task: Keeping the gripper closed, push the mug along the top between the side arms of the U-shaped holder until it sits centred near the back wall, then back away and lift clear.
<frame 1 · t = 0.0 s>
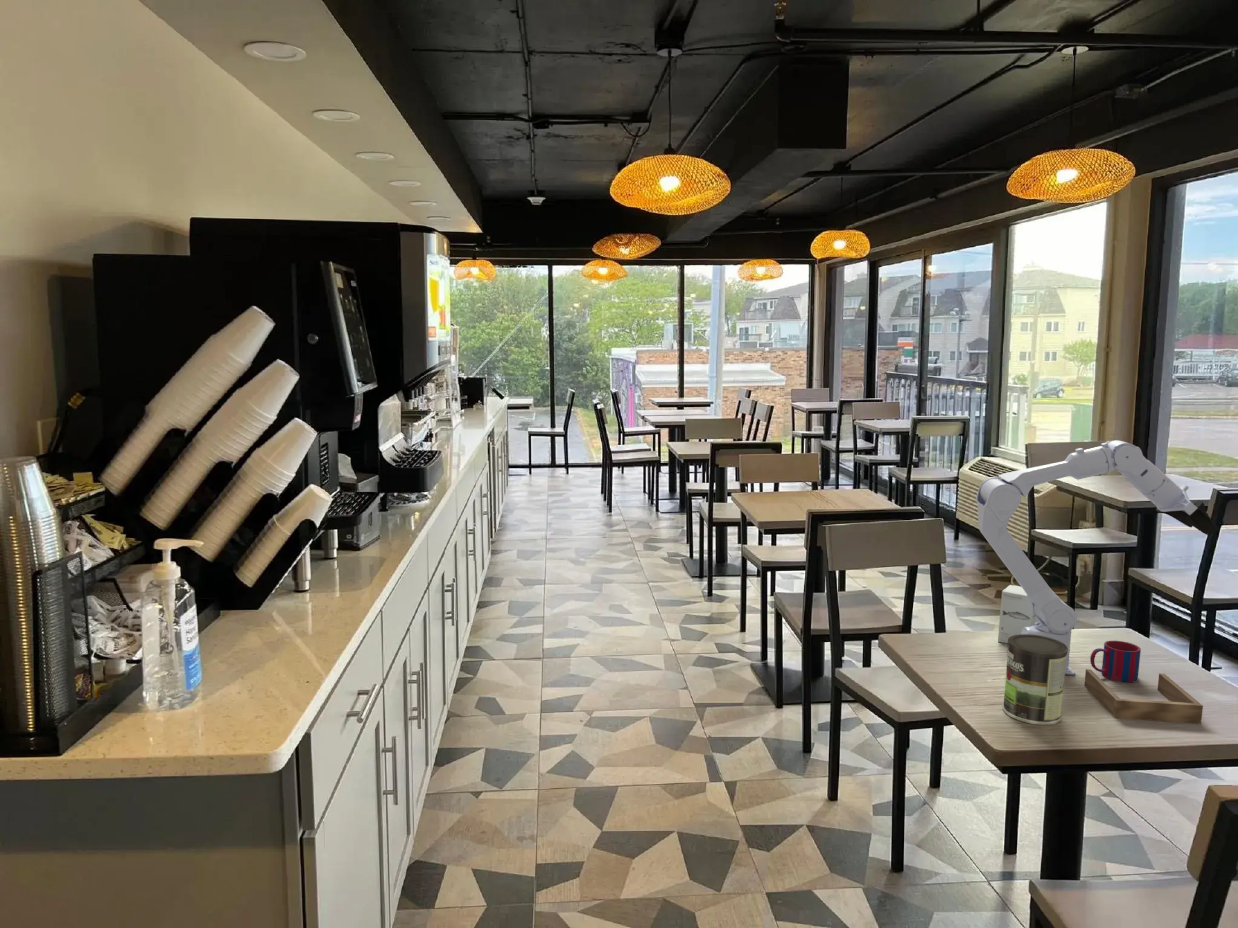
hand: (1203, 527, 179), 32 cm above the table, tool tilted 50°, fingers open, 7 cm apart
mug: (1111, 677, 183), on the table
coffee can: (1031, 714, 165), on the table
supplement box: (1017, 642, 204), on the table
holder: (1142, 705, 169), on the table
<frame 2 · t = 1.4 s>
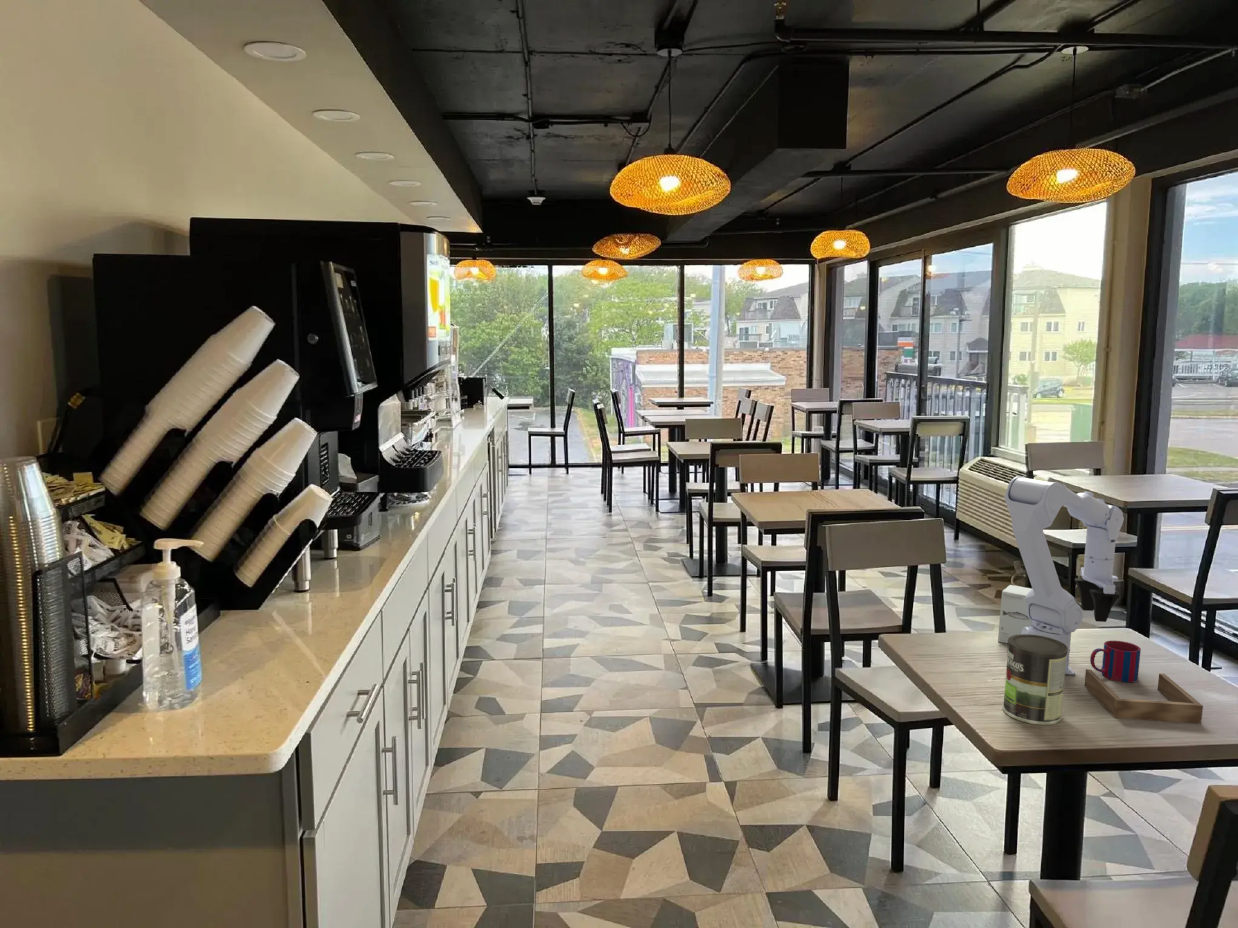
hand: (1094, 615, 194), 9 cm above the table, tool pointing down, fingers open, 7 cm apart
nothing on the table moved.
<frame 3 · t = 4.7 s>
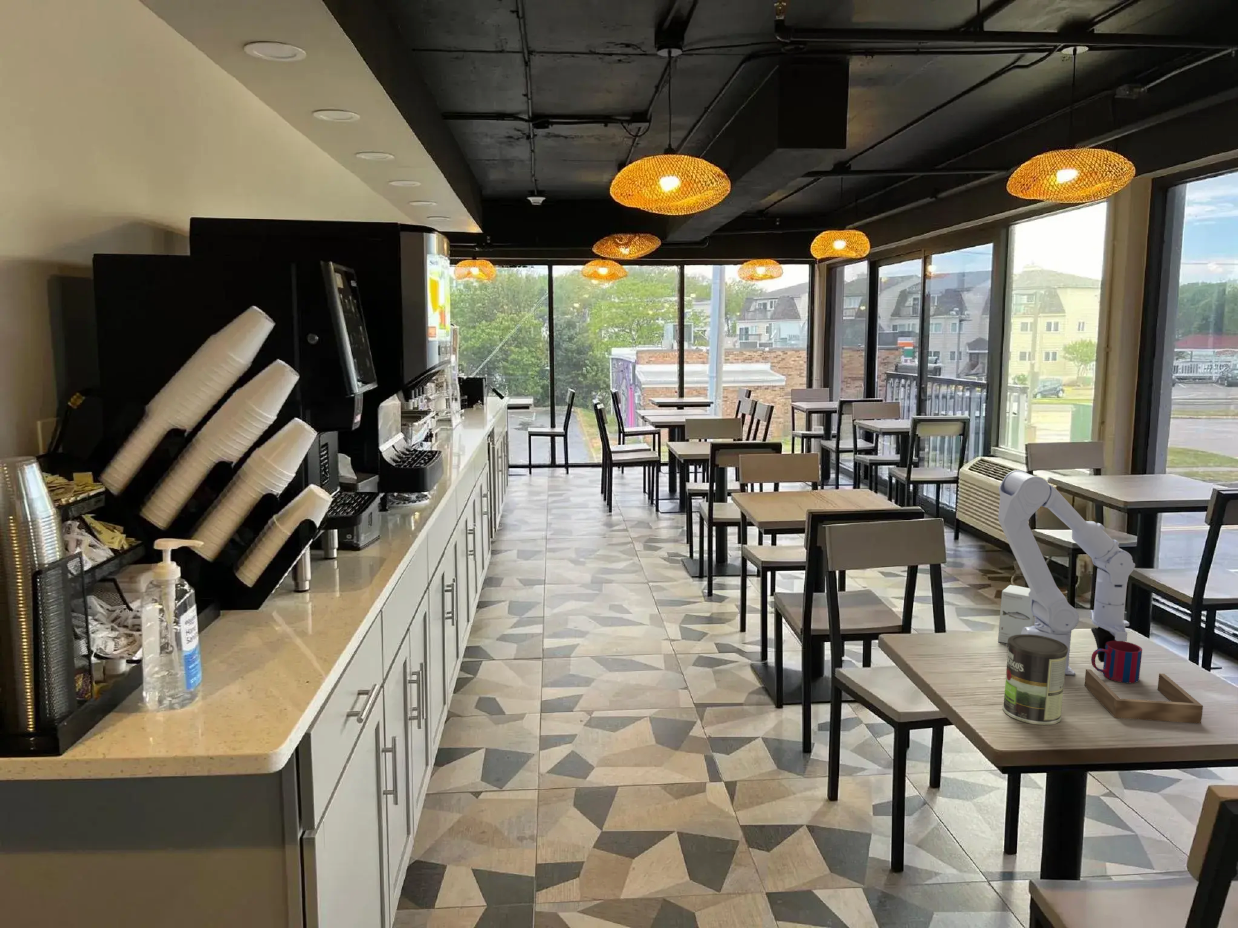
hand: (1104, 661, 188), 2 cm above the table, tool pointing down, fingers closed, pressing on mug
mug: (1112, 677, 183), on the table, touching gripper
everything else where it was.
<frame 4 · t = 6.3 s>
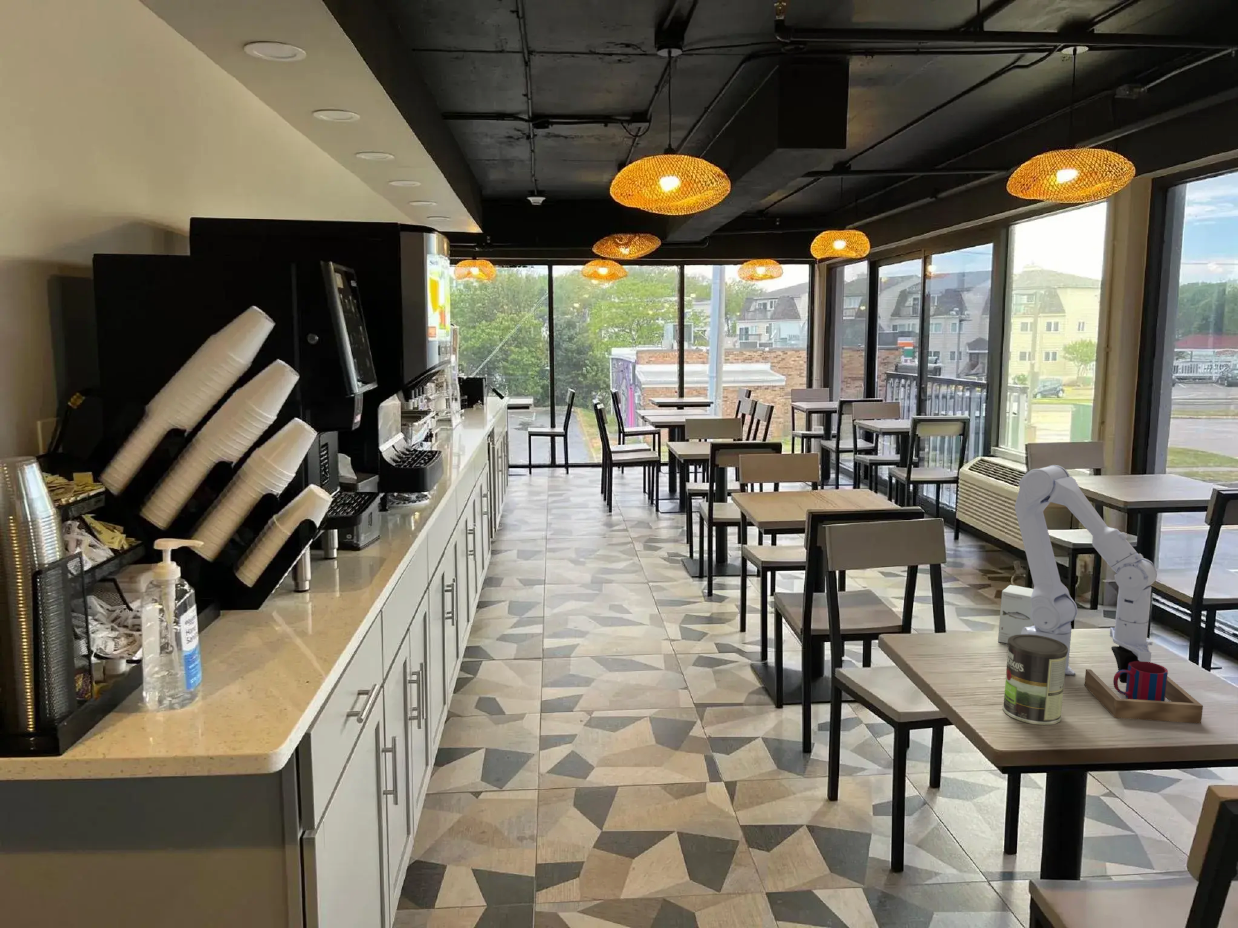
hand: (1126, 682, 177), 1 cm above the table, tool pointing down, fingers closed
mug: (1135, 700, 172), on the table, touching gripper
everything else where it was.
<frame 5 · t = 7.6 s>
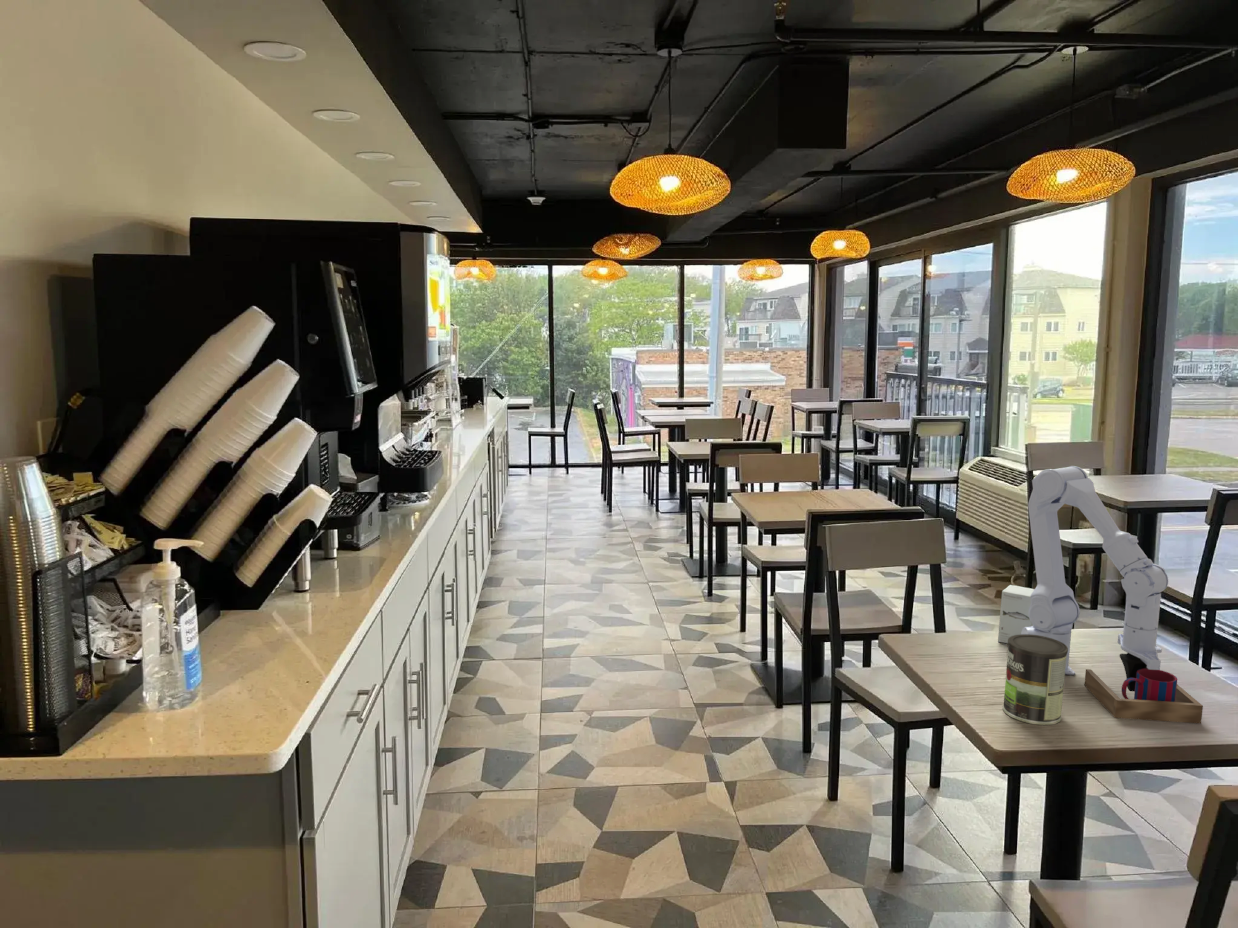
hand: (1134, 690, 173), 1 cm above the table, tool pointing down, fingers closed
mug: (1144, 708, 168), on the table, touching gripper
everything else where it was.
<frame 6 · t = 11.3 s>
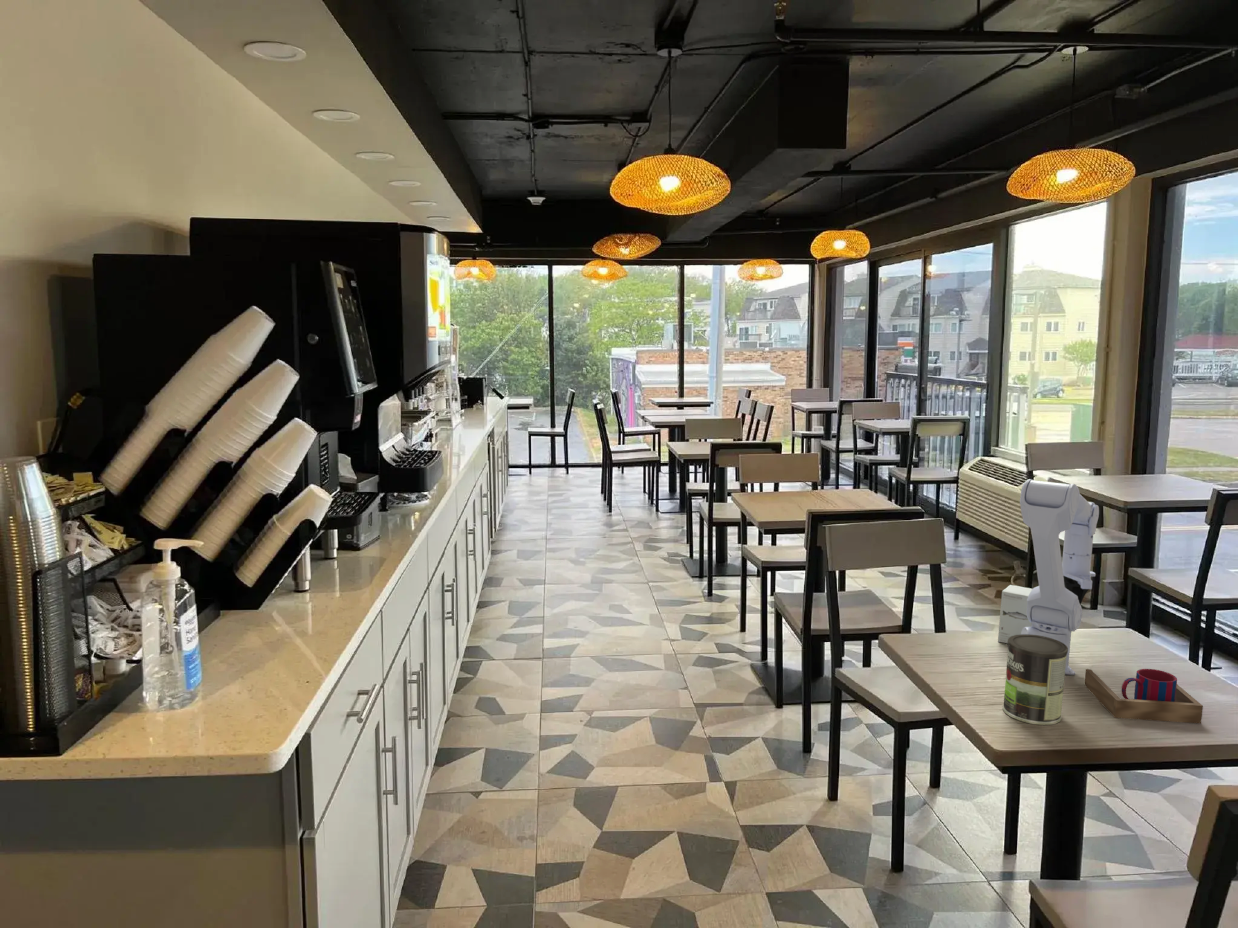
hand: (1072, 610, 197), 9 cm above the table, tool pointing down, fingers closed
mug: (1144, 709, 168), on the table
everything else where it was.
at the end: mug inside the target area on the holder (0.9 cm from its centre), point 0.0 cm above the holder's base; mug tilted 0° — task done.
